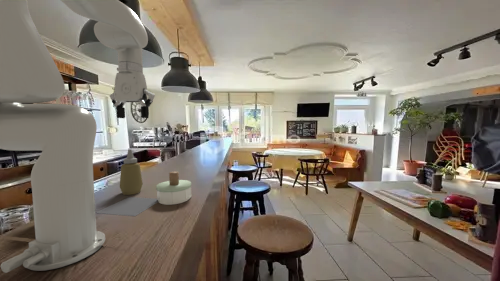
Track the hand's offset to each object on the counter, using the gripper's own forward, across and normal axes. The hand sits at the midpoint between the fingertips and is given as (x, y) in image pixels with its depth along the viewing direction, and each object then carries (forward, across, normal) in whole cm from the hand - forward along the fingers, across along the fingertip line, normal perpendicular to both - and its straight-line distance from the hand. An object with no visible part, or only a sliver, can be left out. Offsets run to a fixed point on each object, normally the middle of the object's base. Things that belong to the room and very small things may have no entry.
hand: (132, 118), depth 71 cm
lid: (+25, +15, +1) cm, 29 cm away
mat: (+30, +4, -7) cm, 31 cm away
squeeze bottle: (+31, -6, +5) cm, 31 cm away
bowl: (+30, +15, +1) cm, 34 cm away
